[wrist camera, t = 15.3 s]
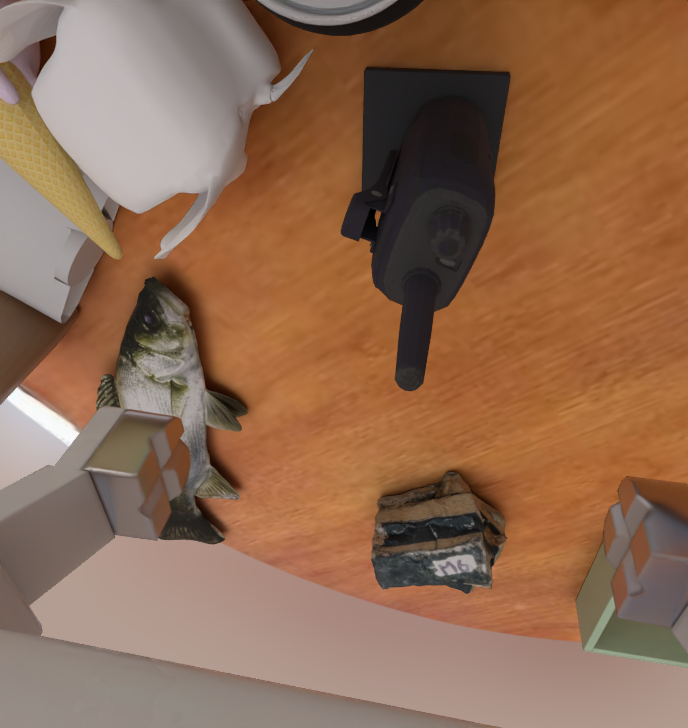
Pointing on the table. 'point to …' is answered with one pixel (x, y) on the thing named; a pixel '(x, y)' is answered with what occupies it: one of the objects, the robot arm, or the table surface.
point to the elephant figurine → (150, 93)
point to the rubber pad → (409, 93)
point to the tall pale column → (45, 247)
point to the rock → (437, 537)
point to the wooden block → (25, 340)
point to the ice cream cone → (45, 150)
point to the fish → (173, 400)
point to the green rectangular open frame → (620, 623)
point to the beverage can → (339, 14)
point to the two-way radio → (427, 220)
